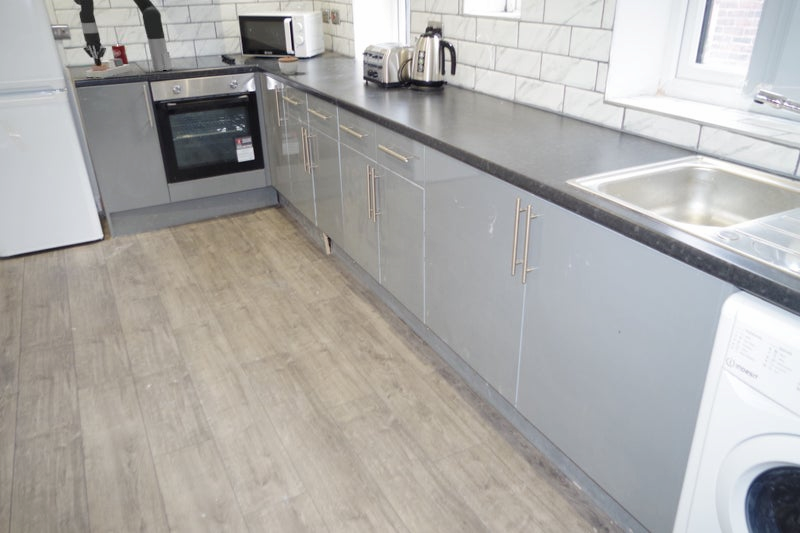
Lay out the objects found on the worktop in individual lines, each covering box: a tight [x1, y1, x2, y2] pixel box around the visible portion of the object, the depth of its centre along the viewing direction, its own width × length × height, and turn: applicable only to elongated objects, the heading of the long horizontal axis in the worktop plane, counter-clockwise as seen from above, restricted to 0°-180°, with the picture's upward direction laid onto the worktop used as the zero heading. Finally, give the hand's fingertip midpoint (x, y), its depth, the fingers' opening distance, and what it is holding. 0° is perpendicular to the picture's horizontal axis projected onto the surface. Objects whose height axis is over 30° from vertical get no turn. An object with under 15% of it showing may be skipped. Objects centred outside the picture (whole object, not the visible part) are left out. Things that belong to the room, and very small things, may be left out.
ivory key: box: [101, 59, 115, 69], centre depth 333 cm, size 5×5×4 cm
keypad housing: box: [85, 64, 132, 78], centre depth 334 cm, size 10×24×4 cm, turn 166°
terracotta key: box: [91, 65, 107, 71], centre depth 327 cm, size 5×5×4 cm
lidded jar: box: [277, 55, 299, 76], centre depth 323 cm, size 11×11×9 cm
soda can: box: [111, 44, 130, 65], centre depth 358 cm, size 7×7×12 cm
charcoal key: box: [108, 58, 123, 67], centre depth 339 cm, size 5×5×4 cm
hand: (98, 65), depth 326 cm, fingers closed
